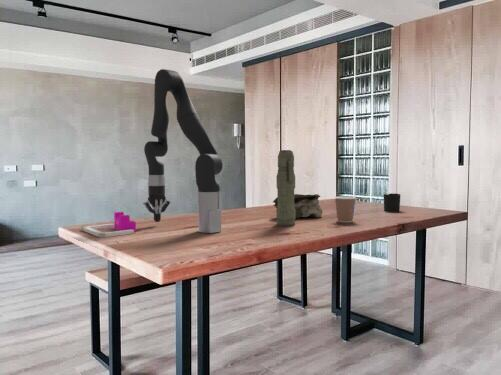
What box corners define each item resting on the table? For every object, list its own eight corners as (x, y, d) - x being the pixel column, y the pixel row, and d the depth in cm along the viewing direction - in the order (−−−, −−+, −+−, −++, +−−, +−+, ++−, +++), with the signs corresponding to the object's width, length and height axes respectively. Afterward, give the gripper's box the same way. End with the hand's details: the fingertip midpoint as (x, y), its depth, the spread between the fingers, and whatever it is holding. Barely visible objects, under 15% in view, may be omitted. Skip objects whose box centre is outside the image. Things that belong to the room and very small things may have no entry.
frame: (133, 233, 176) (133, 230, 176) (100, 237, 167) (100, 233, 167) (112, 226, 194) (112, 223, 194) (81, 230, 185) (81, 226, 185)
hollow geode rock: (274, 227, 218) (280, 209, 207) (267, 209, 226) (273, 190, 215) (323, 223, 226) (332, 205, 215) (315, 205, 234) (323, 187, 223)
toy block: (135, 232, 180) (135, 215, 180) (120, 233, 177) (120, 216, 177) (128, 227, 193) (128, 211, 193) (114, 228, 190) (114, 212, 190)
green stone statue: (284, 227, 191) (284, 149, 189) (271, 223, 202) (271, 150, 199) (300, 225, 195) (300, 150, 193) (287, 222, 206) (287, 150, 203)
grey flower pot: (357, 222, 202) (358, 198, 201) (336, 222, 203) (336, 198, 202) (353, 219, 213) (353, 196, 212) (332, 219, 213) (333, 196, 212)
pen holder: (401, 212, 242) (401, 194, 242) (384, 211, 244) (384, 194, 243) (398, 210, 252) (398, 193, 251) (382, 209, 253) (382, 193, 253)
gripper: (146, 185, 187) (147, 224, 189) (173, 184, 196) (173, 221, 197) (139, 184, 193) (140, 222, 194) (165, 183, 202) (166, 219, 203)
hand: (157, 221), depth 196 cm, fingers closed
